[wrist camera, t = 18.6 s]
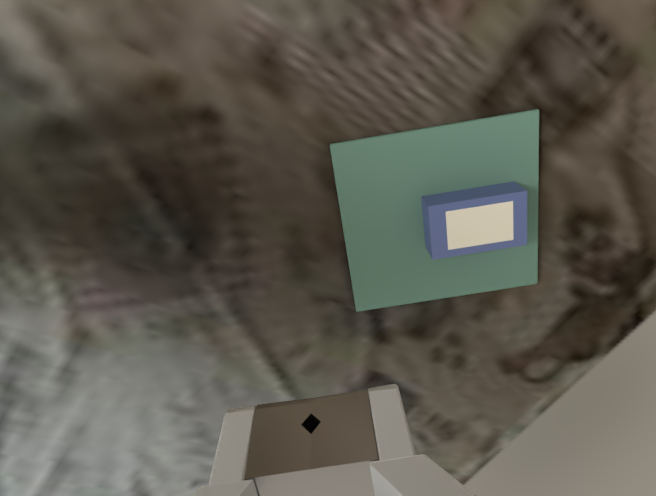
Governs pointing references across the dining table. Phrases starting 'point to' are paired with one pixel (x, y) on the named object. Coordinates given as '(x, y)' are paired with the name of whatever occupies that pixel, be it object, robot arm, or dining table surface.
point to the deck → (475, 220)
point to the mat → (406, 207)
